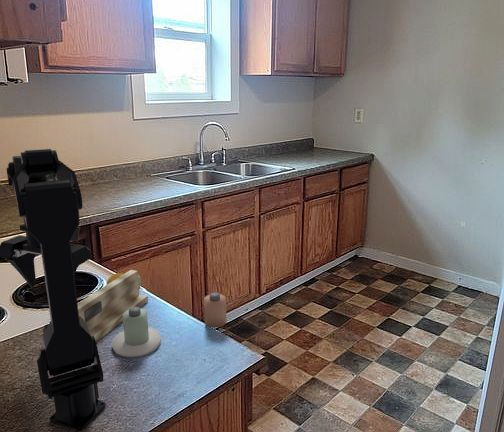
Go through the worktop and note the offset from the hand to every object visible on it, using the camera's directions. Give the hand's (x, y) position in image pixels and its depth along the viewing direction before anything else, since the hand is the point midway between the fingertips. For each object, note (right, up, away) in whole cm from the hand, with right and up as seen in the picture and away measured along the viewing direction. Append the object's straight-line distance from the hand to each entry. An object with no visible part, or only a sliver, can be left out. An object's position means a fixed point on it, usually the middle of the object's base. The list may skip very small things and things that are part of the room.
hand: (49, 289), depth 91 cm
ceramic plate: (+18, -12, +2) cm, 21 cm away
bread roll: (+7, -4, +29) cm, 30 cm away
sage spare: (+18, -11, +2) cm, 21 cm away
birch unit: (+9, -9, +11) cm, 17 cm away
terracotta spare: (+34, -9, +11) cm, 37 cm away
